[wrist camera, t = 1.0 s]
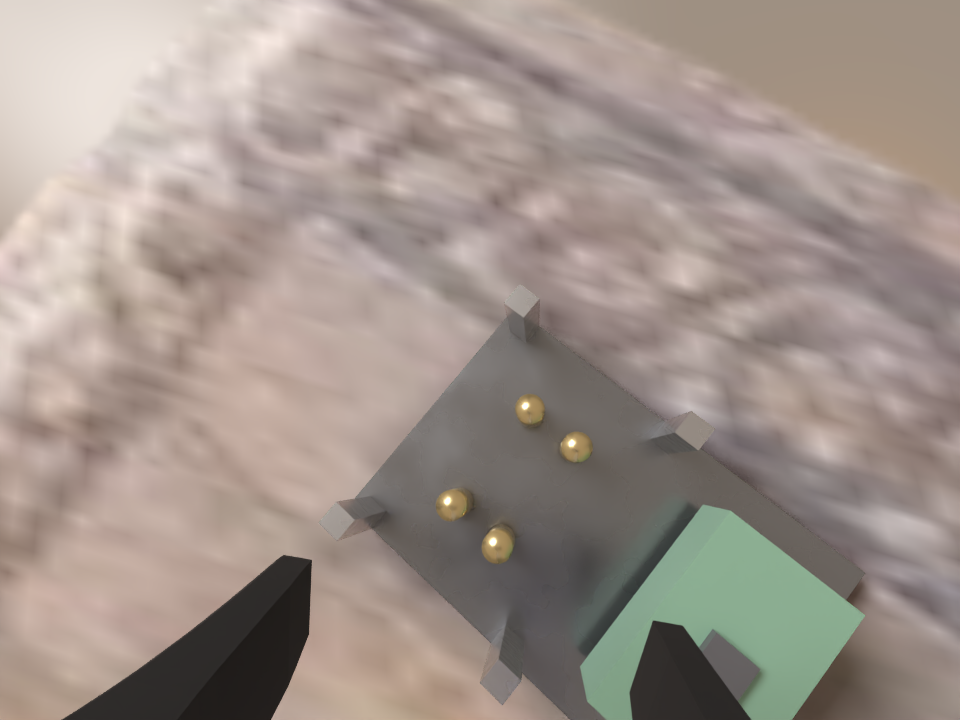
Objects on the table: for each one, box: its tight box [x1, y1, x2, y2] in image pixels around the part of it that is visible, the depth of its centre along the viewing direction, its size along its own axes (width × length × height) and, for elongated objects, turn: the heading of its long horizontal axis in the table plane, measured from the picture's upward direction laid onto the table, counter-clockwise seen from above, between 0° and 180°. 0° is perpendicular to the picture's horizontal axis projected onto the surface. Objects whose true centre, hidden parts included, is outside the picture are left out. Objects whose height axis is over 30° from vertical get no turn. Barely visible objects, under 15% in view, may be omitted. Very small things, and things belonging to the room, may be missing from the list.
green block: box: [580, 505, 865, 720], centre depth 18 cm, size 5×8×3 cm, turn 140°
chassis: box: [319, 284, 865, 720], centre depth 20 cm, size 18×12×5 cm, turn 50°
